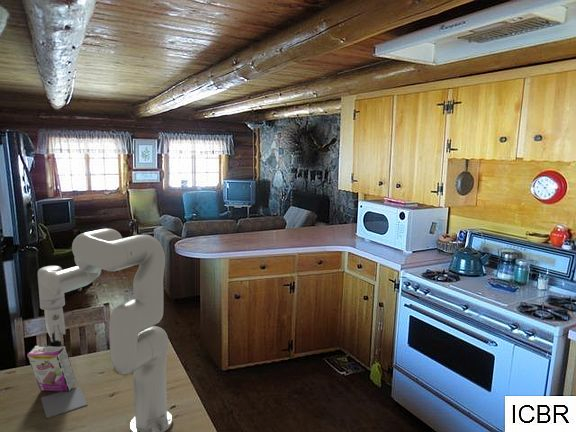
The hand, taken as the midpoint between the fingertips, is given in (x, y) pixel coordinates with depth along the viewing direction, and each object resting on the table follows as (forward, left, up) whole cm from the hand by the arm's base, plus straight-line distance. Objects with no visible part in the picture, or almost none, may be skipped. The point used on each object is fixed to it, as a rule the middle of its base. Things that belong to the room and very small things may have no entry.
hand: (56, 351), depth 147 cm
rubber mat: (-10, 0, -14) cm, 17 cm away
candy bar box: (-1, 0, -13) cm, 13 cm away
